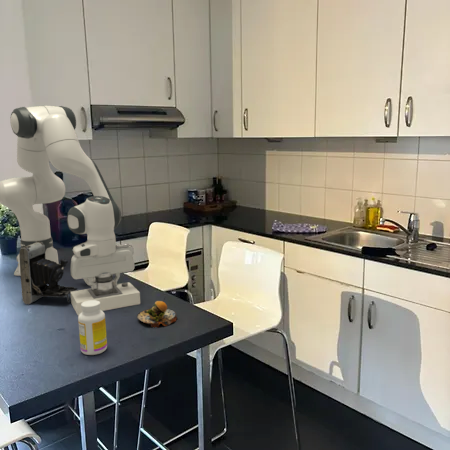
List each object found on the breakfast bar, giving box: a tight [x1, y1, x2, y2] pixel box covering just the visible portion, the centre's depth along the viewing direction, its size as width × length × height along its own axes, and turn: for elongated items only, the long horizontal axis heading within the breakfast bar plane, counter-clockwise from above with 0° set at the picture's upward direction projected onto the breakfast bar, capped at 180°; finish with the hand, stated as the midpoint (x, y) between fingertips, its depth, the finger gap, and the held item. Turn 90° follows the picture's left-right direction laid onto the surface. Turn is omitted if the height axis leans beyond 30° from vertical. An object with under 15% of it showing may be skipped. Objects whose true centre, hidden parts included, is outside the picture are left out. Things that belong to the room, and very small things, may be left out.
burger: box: [136, 296, 177, 329], centre depth 136 cm, size 12×12×8 cm
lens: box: [94, 273, 114, 296], centre depth 149 cm, size 6×6×10 cm
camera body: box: [69, 282, 141, 316], centre depth 150 cm, size 12×20×5 cm, turn 118°
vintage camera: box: [18, 241, 78, 305], centre depth 151 cm, size 10×16×20 cm, turn 79°
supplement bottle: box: [77, 300, 108, 356], centre depth 116 cm, size 7×7×13 cm
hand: (104, 287), depth 149 cm, fingers closed on lens, 5 cm apart
